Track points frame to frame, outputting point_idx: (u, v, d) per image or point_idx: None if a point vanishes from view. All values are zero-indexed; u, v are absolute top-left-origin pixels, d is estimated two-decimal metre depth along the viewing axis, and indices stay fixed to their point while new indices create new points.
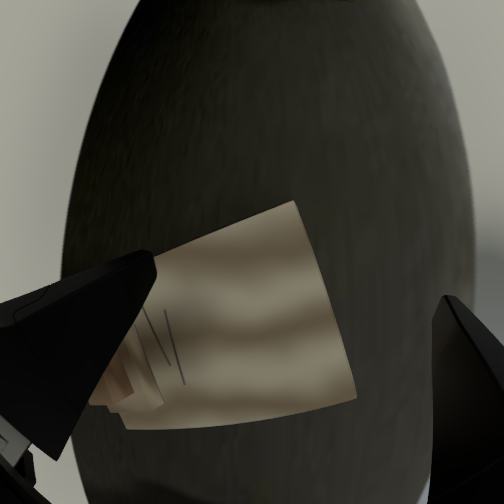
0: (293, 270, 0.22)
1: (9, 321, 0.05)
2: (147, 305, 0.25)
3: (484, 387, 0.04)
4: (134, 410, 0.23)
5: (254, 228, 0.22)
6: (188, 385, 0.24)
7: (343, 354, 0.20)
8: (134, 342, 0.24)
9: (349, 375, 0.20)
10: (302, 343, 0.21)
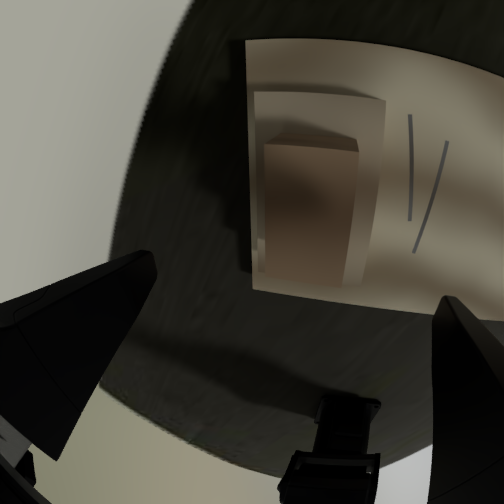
0: None
1: (9, 321, 0.05)
2: (420, 120, 0.12)
3: (484, 387, 0.04)
4: None
5: None
6: (418, 255, 0.16)
7: None
8: None
9: None
10: None
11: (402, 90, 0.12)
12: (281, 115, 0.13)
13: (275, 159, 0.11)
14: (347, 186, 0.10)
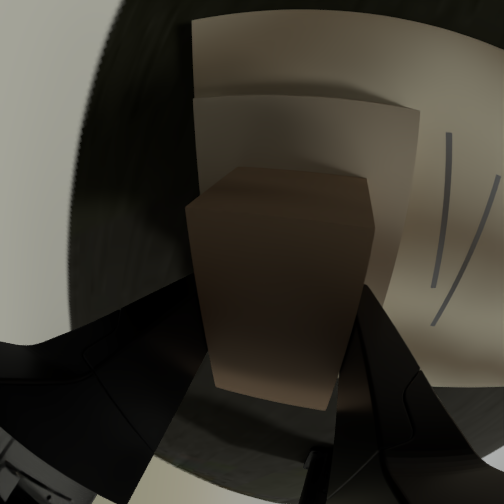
0: None
1: (80, 367, 0.04)
2: (464, 142, 0.07)
3: (361, 381, 0.05)
4: None
5: None
6: (438, 328, 0.11)
7: None
8: None
9: None
10: None
11: (438, 93, 0.07)
12: (237, 137, 0.08)
13: (207, 236, 0.06)
14: (345, 290, 0.05)
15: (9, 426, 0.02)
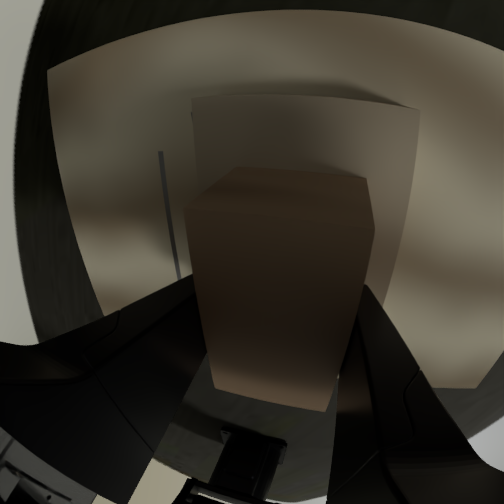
0: None
1: (80, 367, 0.04)
2: None
3: (361, 381, 0.05)
4: None
5: None
6: None
7: None
8: None
9: (491, 364, 0.11)
10: (485, 310, 0.10)
11: (180, 80, 0.09)
12: (236, 137, 0.08)
13: (206, 237, 0.06)
14: (345, 291, 0.05)
15: (9, 426, 0.02)
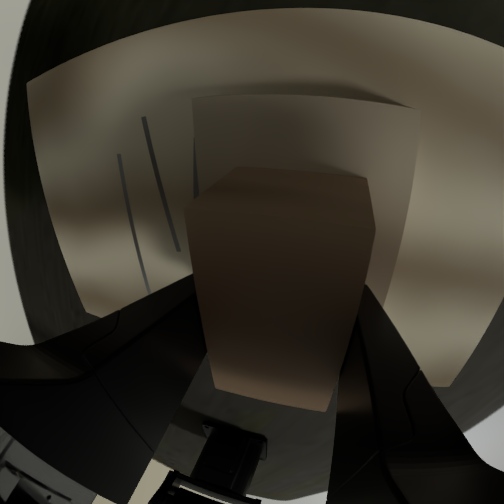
0: None
1: (80, 367, 0.04)
2: (156, 120, 0.10)
3: (361, 381, 0.05)
4: None
5: (482, 64, 0.06)
6: None
7: (479, 337, 0.10)
8: None
9: (464, 362, 0.11)
10: (447, 304, 0.10)
11: (131, 89, 0.10)
12: (236, 137, 0.08)
13: (206, 237, 0.06)
14: (346, 291, 0.05)
15: (9, 426, 0.02)
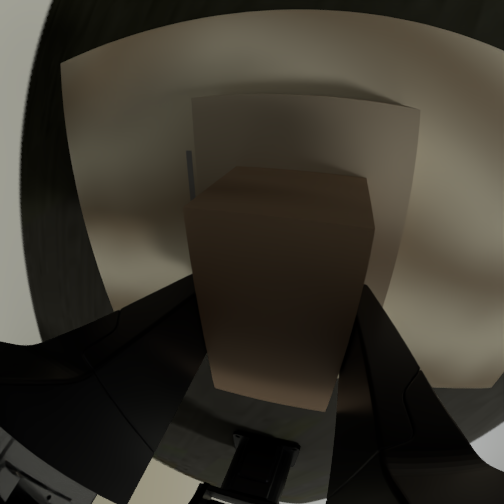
0: None
1: (79, 366, 0.04)
2: None
3: (361, 381, 0.05)
4: None
5: None
6: None
7: None
8: None
9: None
10: None
11: (212, 77, 0.09)
12: (236, 137, 0.08)
13: (206, 237, 0.06)
14: (345, 291, 0.05)
15: (9, 426, 0.02)
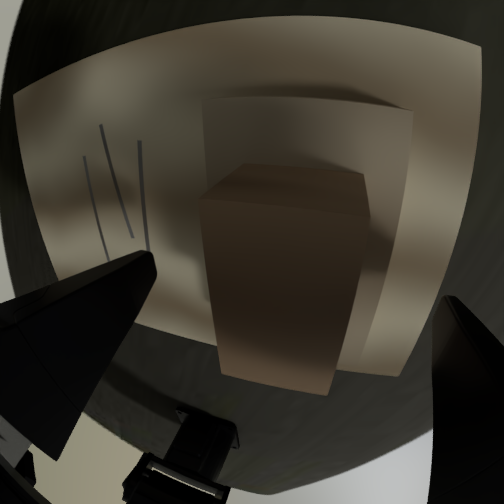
0: (431, 165, 0.09)
1: (9, 321, 0.05)
2: (110, 127, 0.11)
3: (484, 387, 0.04)
4: None
5: (390, 48, 0.07)
6: (157, 275, 0.15)
7: (421, 325, 0.12)
8: None
9: (409, 351, 0.13)
10: None
11: (91, 101, 0.11)
12: (243, 136, 0.08)
13: (218, 226, 0.06)
14: (345, 274, 0.06)
15: None
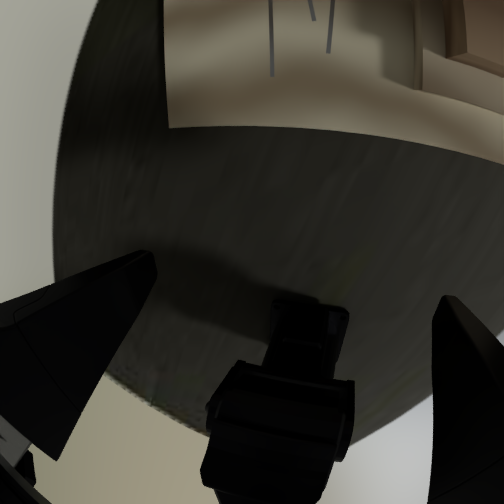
0: None
1: (9, 321, 0.05)
2: None
3: (484, 387, 0.04)
4: (485, 104, 0.10)
5: None
6: (334, 55, 0.13)
7: None
8: None
9: None
10: None
11: None
12: None
13: None
14: None
15: None
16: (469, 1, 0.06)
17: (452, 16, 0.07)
